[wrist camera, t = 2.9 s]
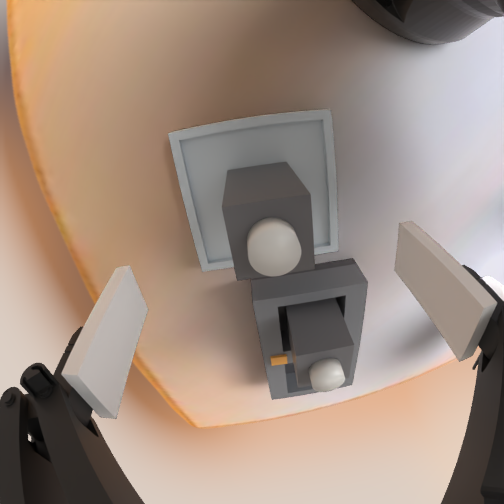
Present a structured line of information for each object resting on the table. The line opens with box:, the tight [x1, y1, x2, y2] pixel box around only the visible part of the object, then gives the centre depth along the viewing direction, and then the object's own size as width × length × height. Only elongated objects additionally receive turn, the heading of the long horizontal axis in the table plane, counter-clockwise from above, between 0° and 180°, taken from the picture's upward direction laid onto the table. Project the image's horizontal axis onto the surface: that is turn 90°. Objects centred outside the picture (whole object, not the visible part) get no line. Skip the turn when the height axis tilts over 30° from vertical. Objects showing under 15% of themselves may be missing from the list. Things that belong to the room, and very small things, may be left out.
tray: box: [168, 109, 338, 272], centre depth 23 cm, size 12×12×2 cm
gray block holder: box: [251, 258, 368, 400], centre depth 26 cm, size 16×10×10 cm, turn 9°
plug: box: [222, 162, 315, 281], centre depth 18 cm, size 4×4×10 cm
